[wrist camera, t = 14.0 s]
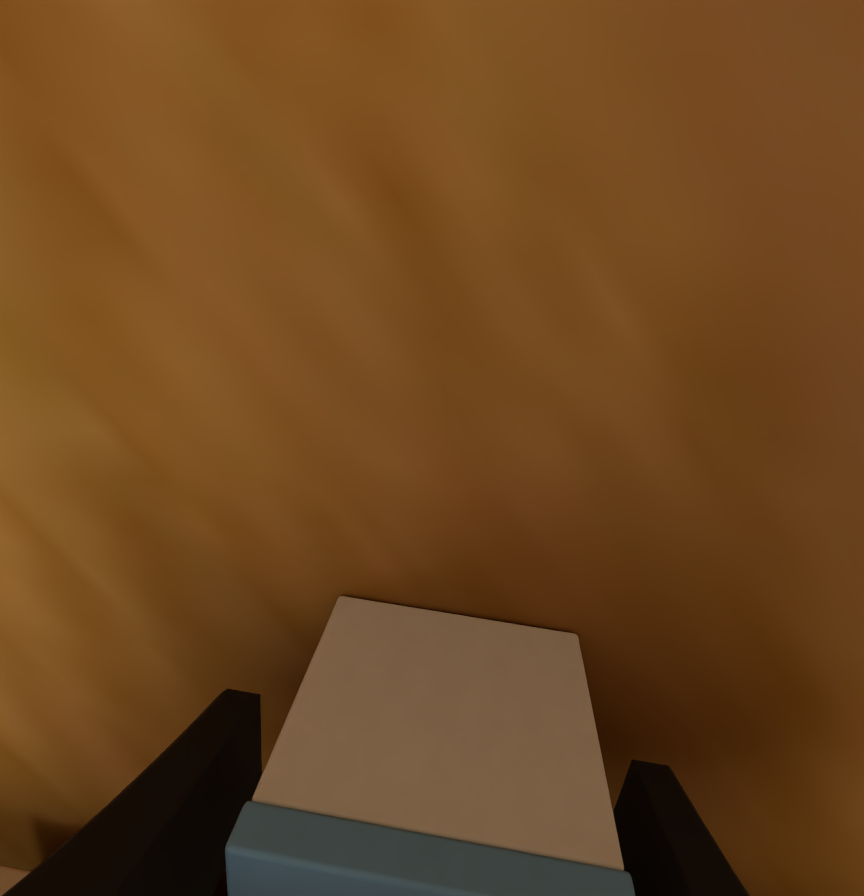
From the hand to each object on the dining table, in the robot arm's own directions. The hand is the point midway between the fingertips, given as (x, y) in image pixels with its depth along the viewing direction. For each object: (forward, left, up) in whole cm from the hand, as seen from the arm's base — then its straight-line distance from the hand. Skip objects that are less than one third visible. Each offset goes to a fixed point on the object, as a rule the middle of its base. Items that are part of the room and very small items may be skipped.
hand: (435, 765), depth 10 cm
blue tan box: (0, 0, -1) cm, 1 cm away
